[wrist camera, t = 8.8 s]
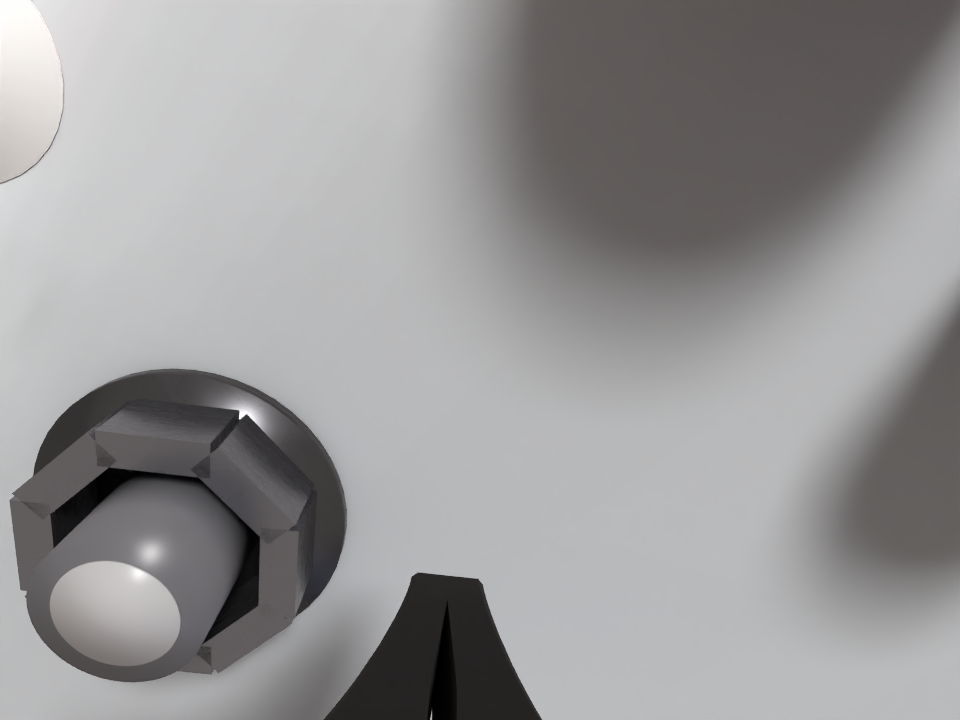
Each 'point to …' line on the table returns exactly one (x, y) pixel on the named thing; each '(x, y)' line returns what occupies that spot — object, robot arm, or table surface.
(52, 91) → the champagne flute
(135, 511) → the cap
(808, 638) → the table surface
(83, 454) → the socket
